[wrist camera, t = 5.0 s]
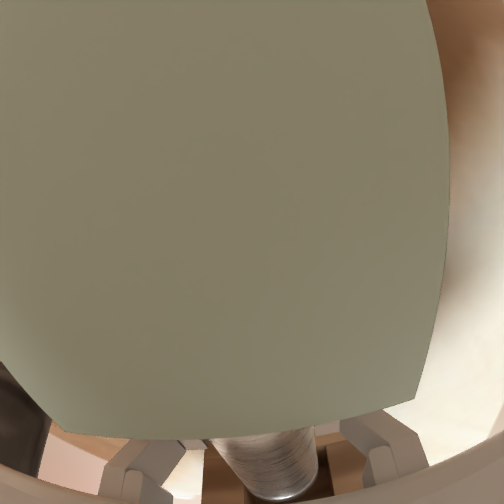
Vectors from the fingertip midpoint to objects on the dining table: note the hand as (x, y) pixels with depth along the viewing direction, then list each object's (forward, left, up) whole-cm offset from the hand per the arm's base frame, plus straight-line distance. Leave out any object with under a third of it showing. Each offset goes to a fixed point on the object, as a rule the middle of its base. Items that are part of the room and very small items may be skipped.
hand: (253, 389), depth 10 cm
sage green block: (-8, 0, -3) cm, 8 cm away
